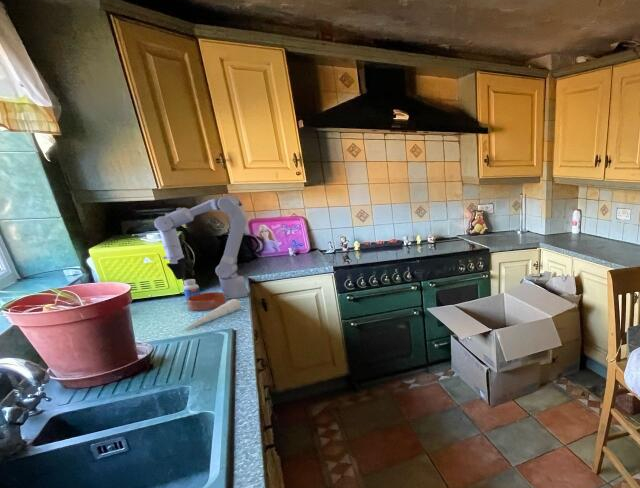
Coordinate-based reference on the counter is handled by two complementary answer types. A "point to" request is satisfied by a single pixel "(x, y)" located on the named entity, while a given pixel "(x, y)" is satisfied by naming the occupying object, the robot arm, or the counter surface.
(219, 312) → the unicorn horn
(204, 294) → the bowl
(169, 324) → the counter surface
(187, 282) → the pill bottle
